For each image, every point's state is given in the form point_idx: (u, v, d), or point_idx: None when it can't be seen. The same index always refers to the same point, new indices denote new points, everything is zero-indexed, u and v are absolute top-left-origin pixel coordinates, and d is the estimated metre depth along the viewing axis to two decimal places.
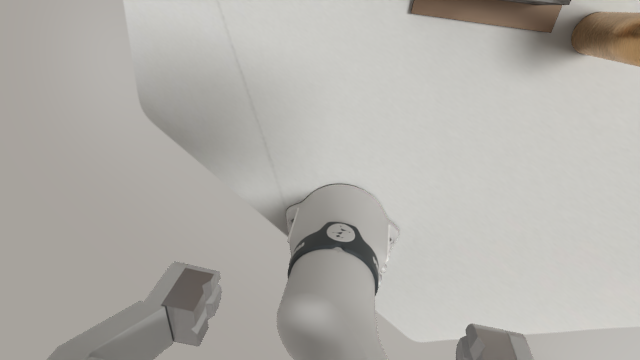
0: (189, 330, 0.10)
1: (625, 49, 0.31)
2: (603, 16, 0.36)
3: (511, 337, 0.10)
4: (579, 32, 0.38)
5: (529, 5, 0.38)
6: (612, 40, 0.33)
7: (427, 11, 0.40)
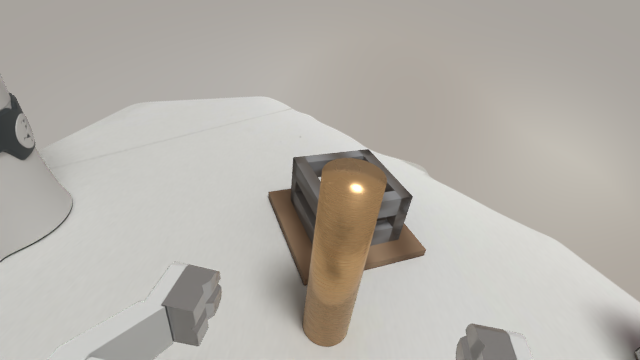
0: (189, 330, 0.10)
1: None
2: None
3: (510, 337, 0.10)
4: None
5: None
6: None
7: (274, 199, 0.47)
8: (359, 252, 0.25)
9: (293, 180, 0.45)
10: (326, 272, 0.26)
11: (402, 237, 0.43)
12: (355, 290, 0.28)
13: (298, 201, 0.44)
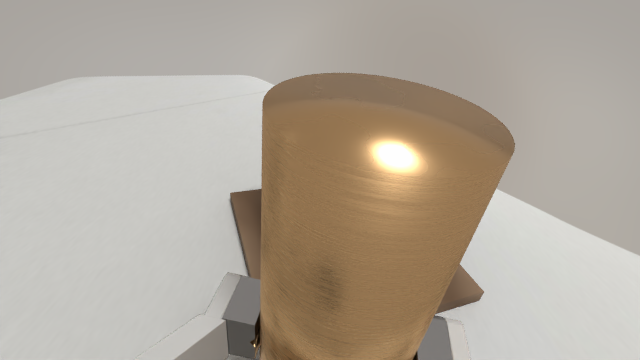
0: (247, 343, 0.10)
1: None
2: None
3: (448, 324, 0.10)
4: None
5: None
6: None
7: (237, 203, 0.30)
8: None
9: None
10: None
11: None
12: None
13: None
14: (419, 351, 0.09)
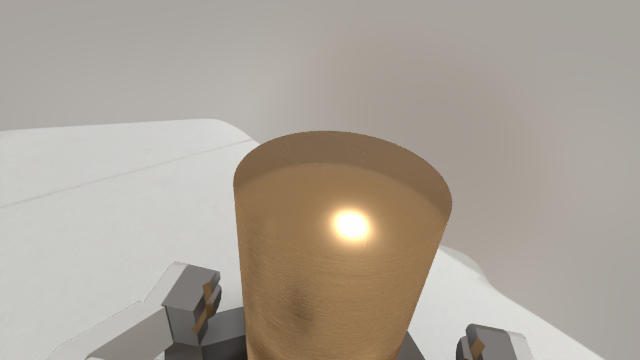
0: (189, 330, 0.10)
1: None
2: None
3: (511, 337, 0.10)
4: None
5: None
6: None
7: None
8: None
9: None
10: None
11: None
12: None
13: None
14: None
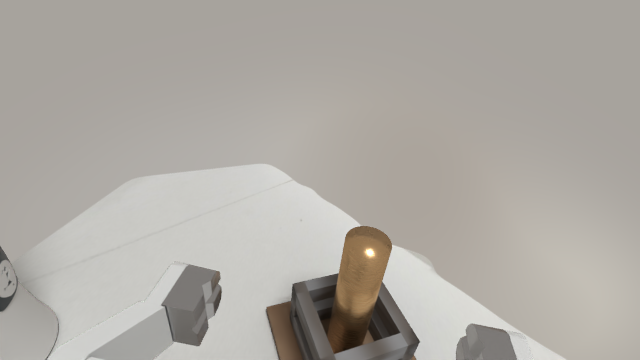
0: (189, 330, 0.10)
1: None
2: None
3: (511, 337, 0.10)
4: None
5: None
6: None
7: (272, 317, 0.45)
8: (372, 295, 0.34)
9: (292, 304, 0.42)
10: (347, 309, 0.35)
11: None
12: (368, 321, 0.37)
13: (297, 329, 0.41)
14: None
